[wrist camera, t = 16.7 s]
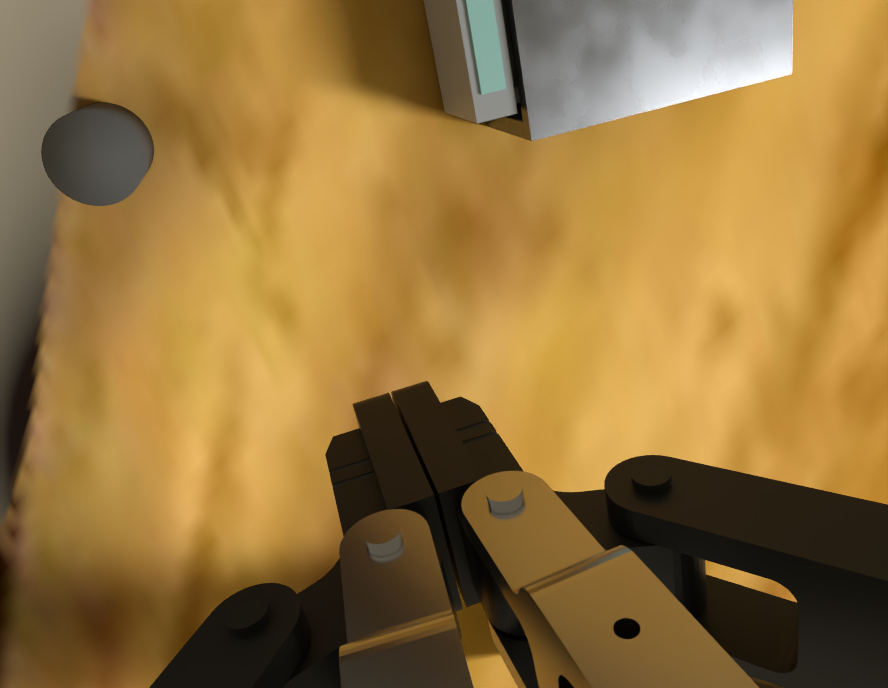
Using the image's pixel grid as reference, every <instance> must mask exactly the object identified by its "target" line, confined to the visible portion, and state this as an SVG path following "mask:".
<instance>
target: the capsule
mask: <svg viewBox="0 0 888 688" xmlns="http://www.w3.org/2000/svg"><path fill="white" fill-rule="evenodd" d="M41 153H42V161H43V165H44V168H45V171H46V173H47V175H48V177H49V178H50V180H51V181H52V183H53V184H54V185H55V186H56V187H57V188H58V189H59V190H60V191H61V192H62V193H64V194H65V195H66V196H68V197H70V198H71V199H73V200H75V201H78V202H80V203H84V204H87V205H93V206H106V205H111V204H115V203H118V202H120V201H122V200H124V199H125V198H127V197H128V196H129V195H130V194H132V193H133V192H134V190H135V189H136V188H137V186H138V185H139V183H140V182H141V180H142V179H143V177H144V176H145V174H146V173H147V171H148V170H149V168H150V166H151V164H152V160H153V155H154V146H153V140H152V137H151V135H150V132H149V130H148V129H147V127H146V125H145V124H144V123H143V121H142V120H141V119H140V118H139V117H138V116H137V115H135V114H134V113H133V112H131V111H130V110H128V109H126V108H124V107H122V106H119V105H116V104H111V103H95V104H91V105H87V106H85V107H83V108H81V109H78V110H76V111H74V112H71V113H69V114H67V115H65V116H62V117H61V118H59V119H58V120H56V121H55V122H54V123H53V124H52V125H51V126H50V128H49V129H48V131H47V132H46V134H45V137H44V139H43V143H42V151H41Z"/></svg>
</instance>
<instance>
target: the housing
mask: <svg viewBox="0 0 888 688" xmlns="http://www.w3.org/2000/svg"><path fill="white" fill-rule="evenodd" d="M505 1H506V7H507V14H508V21H509V28H510V35H511V42H512V49H513V56H514V63H515V70H516V77H517V83H518V90H519V97H520V103H517V104H516V107H517V114H513V115H509V116H505V117H501V118H497V119H493V120H489V121H487V124H488V127H491V128H494V129H497V130H500V131H503V132H506V133H509V134H512V135H515V136H518V137H521V138H524V139H527V140H530V141H534V140H538V139H542V138H546V137H550V136H553V135H557V134H561V133H565V132H569V131H573V130H577V129H581V128H584V127H588V126H592V125H596V124H600V123H604V122H608V121H612V120H615V119H619V118H623V117H627V116H631V115H635V114H639V113H643V112H646V111H650V110H654V109H658V108H662V107H666V106H670V105H674V104H677V103H681V102H685V101H689V100H693V99H697V98H701V97H705V96H708V95H712V94H716V93H720V92H724V91H728V90H732V89H736V88H739V87H743V86H747V85H751V84H755V83H759V82H763V81H767V80H770V79H774V78H778V77H782V76H786V75H790V74H792V45H793V0H505Z"/></svg>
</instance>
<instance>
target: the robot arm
mask: <svg viewBox="0 0 888 688" xmlns="http://www.w3.org/2000/svg"><path fill="white" fill-rule="evenodd" d="M391 393H392V399H393V401H392V399H391V396H390V394H389V393H386V394H383V395H380V396H376V397H373V398H370V399H367V400H363V401H360V402H357V403H354V404H353V407H354V411H355V414H356V418H357V421H358V425H359V429H356V430H353V431H350V432H346V433H343V434H340V435H337V436H334V437H333V438H332V440H331V443H330V445H329V447H328V450H327V452H326V454H325V455H326V459H327V464H328V468H329V472H330V477H331V482H332V486H333V491H334V495H335V500H336V504H337V509H338V513H339V518H340V522H341V527H342V531H343V536H344V537H343V539H342V541H341V544H340V548H339V554H340V558H339V560H338V561H337V563H336V564H335V565H334V567H333V568H332V569H331V570H330V571H329V572H328V573H327V574H326V575H325V576H324V577H322V578H321V579H320V580H318V581H317V582H316V583H314V584H313V585H311V586H309V587H308V588H306V589H305V590H303V591H301V592H300V593H298V594H296V593H295V591H293V590H292V589H291V588H289V587H287V586H285V585H282V584H277V583H264V584H258V585H254V586H251V587H248V588H245V589H243V590H241V591H239V592H237V593H235V594H233V595H232V596H230V597H229V598H227V599H226V600H224V601H223V602H222V603H221V604H220V605H218V606H217V607H216V608H215V610H214V611H213V612H212V613H211V614H210V615H209V616H208V618H207V619H206V620H205V621H204V622H203V624H202V625H201V626H200V627H199V628H198V630H197V631H196V632H195V633H194V634H193V636H192V637H191V638H190V639H189V640H188V642H187V643H186V644H185V645H184V647H183V648H182V649H181V650H180V651H179V653H178V654H177V655H176V656H175V657H174V659H173V660H172V661H171V662H170V663H169V665H168V666H167V667H166V668H165V669H164V671H163V672H162V673H161V674H160V675H159V677H158V678H157V679H156V680H155V681H154V683H153V684H152V685H151V686H150V688H474V687H473V684H472V680H471V676H470V673H469V669H468V665H467V662H466V658H465V655H464V651H463V647H462V644H461V630H460V627H459V623H458V619H457V615H456V611H458V610H460V609H463V608H462V604H461V600H460V596H459V592H458V588H459V590H460V592H461V595H462V597H463V600H464V602H465V605H466V607H468V606H471V605H474V604H476V603H479V602H481V603H482V606H483V608H484V610H485V612H486V615H487V619H488V623H489V627H490V632H491V636H492V639H493V642H494V644H495V646H496V648H497V650H498V651H499V653H500V655H501V657H502V659H503V660H504V662H505V664H506V666H507V668H508V670H509V671H510V673H511V675H512V677H513V679H514V681H515V682H516V684H517V686H518V688H888V505H887V504H882V503H878V502H873V501H868V500H864V499H859V498H855V497H850V496H846V495H841V494H836V493H832V492H827V491H823V490H818V489H814V488H809V487H805V486H800V485H795V484H791V483H786V482H782V481H777V480H773V479H768V478H763V477H759V476H754V475H750V474H745V473H741V472H736V471H731V470H727V469H722V468H718V467H713V466H709V465H704V464H699V463H695V462H690V461H686V460H681V459H677V458H672V457H667V456H660V455H645V456H638V457H634V458H630V459H628V460H625V461H623V462H621V463H619V464H617V465H616V466H615V467H613V468H612V469H611V470H610V471H609V473H608V474H607V476H606V479H605V489H603V490H593V491H584V492H558V491H553V490H552V489H551V488H550V487H549V486H548V484H547V483H546V482H545V481H544V480H543V479H541V478H540V477H538V476H536V475H534V474H531V473H528V472H524V471H523V470H522V468H521V467H520V465H519V464H518V462H517V461H516V459H515V458H514V456H513V455H512V453H511V452H510V450H509V449H508V447H507V446H506V445H505V443H504V442H503V440H502V439H501V437H500V436H499V434H497V432H496V430H495V428H494V427H493V425H492V424H491V422H489V419H488V418H487V416H486V415H485V413H484V412H483V410H482V409H481V408H480V406H479V405H477V404H475V403H473V402H471V401H469V400H467V399H465V398H463V397H458V398H454V399H451V400H448V401H445V402H442V403H440V401H439V400H438V398H437V396H436V394H435V393H434V391H433V389H432V387H431V386H430V384H429V382H428V381H425V382H422V383H418V384H415V385H412V386H409V387H405V388H402V389H399V390H396V391H392V392H391ZM705 560H708V561H711V562H714V563H718V564H721V565H724V566H728V567H731V568H734V569H738V570H741V571H744V572H748V573H751V574H754V575H758V576H761V577H765V578H768V579H771V580H774V581H776V582H778V583H780V584H781V585H783V586H784V587H786V588H787V589H788V590H789V591H790V592H791V593H792V594H793V595H794V597H795V598H796V600H797V603H796V602H793V601H790V600H786V599H783V598H780V597H777V596H773V595H770V594H767V593H764V592H761V591H757V590H754V589H751V588H748V587H744V586H741V585H738V584H735V583H732V582H728V581H725V580H722V579H719V578H715V577H712V576H709V575H706V571H705ZM456 583H457V584H456ZM457 585H458V588H457Z"/></svg>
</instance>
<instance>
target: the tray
mask: <svg viewBox="0 0 888 688" xmlns="http://www.w3.org/2000/svg"><path fill="white" fill-rule="evenodd" d="M424 5H425V11H426V16H427V21H428V26H429V32H430V37H431V42H432V47H433V53H434V58H435V63H436V69H437V74H438V79H439V84H440V90H441V95H442V100H443V106H444V111H445V113H447V114H450V115H453V116H456V117H459V118H462V119H465V120H468V121H471V122H474V123H481V122H485V121H489V120H493V119H497V118H501V117H505V116H509V115H513V114H517V107H516V104H517V103H520V97H519V90H518V83H517V77H516V70H515V63H514V56H513V49H512V42H511V35H510V28H509V21H508V14H507V7H506V1H505V0H424Z"/></svg>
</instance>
